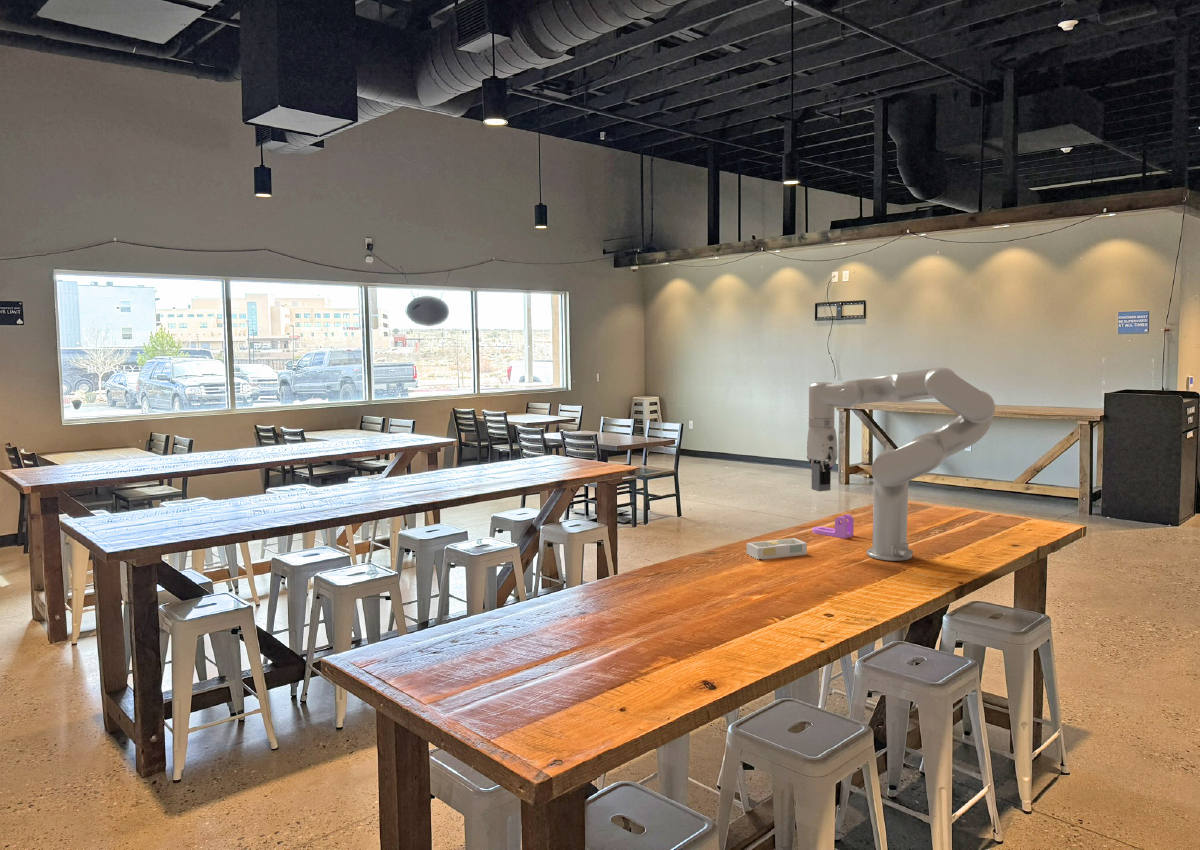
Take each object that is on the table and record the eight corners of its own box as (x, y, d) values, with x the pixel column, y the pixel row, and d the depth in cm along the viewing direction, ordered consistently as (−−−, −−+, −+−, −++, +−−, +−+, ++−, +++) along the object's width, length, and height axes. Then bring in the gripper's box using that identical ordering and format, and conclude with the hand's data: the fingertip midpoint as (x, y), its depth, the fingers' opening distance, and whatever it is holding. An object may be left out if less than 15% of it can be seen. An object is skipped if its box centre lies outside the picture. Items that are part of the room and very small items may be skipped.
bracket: (853, 536, 267) (853, 515, 266) (845, 539, 263) (845, 518, 262) (817, 530, 276) (818, 509, 276) (809, 532, 272) (809, 512, 272)
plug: (830, 490, 246) (830, 464, 246) (818, 491, 245) (819, 465, 244) (822, 488, 250) (823, 462, 249) (811, 489, 249) (811, 463, 248)
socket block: (807, 554, 244) (807, 542, 244) (758, 560, 239) (758, 547, 239) (794, 549, 251) (794, 537, 250) (746, 554, 246) (746, 542, 245)
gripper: (848, 425, 239) (847, 486, 241) (816, 420, 255) (816, 478, 257) (826, 426, 237) (826, 488, 238) (795, 421, 252) (795, 479, 254)
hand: (820, 482), depth 248 cm, fingers closed on plug, 3 cm apart
